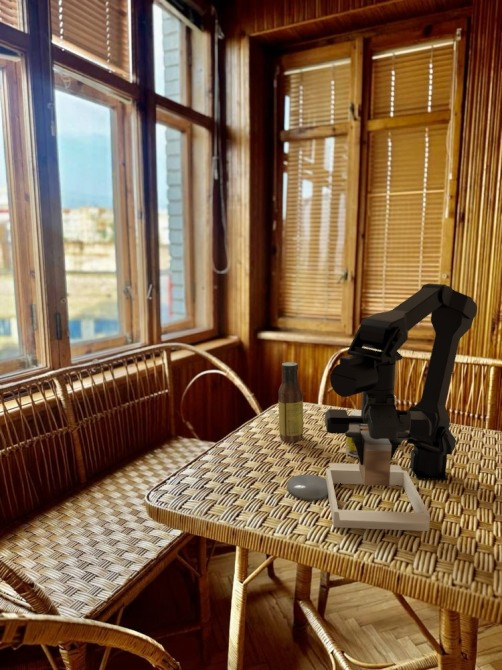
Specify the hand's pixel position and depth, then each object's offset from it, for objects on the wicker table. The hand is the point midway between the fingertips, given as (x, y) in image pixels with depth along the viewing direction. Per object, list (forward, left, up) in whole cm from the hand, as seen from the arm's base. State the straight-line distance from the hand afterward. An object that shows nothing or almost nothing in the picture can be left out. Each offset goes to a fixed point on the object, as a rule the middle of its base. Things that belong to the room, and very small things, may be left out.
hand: (374, 464), depth 90 cm
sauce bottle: (+15, -31, -8) cm, 35 cm away
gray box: (0, 0, -3) cm, 3 cm away
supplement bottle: (-1, -23, -8) cm, 24 cm away
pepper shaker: (-11, -38, -8) cm, 41 cm away
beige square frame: (0, 0, -8) cm, 8 cm away
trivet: (+12, -5, -8) cm, 15 cm away
